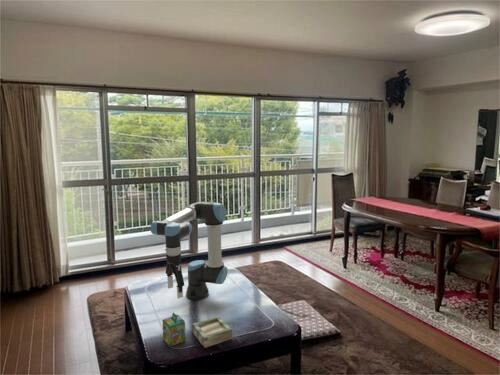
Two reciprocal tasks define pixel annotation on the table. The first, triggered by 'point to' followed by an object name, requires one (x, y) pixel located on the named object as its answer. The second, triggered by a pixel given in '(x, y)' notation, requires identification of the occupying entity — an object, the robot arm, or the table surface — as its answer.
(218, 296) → the table surface
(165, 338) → the chalk box
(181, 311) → the table surface
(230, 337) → the rectangular frame
